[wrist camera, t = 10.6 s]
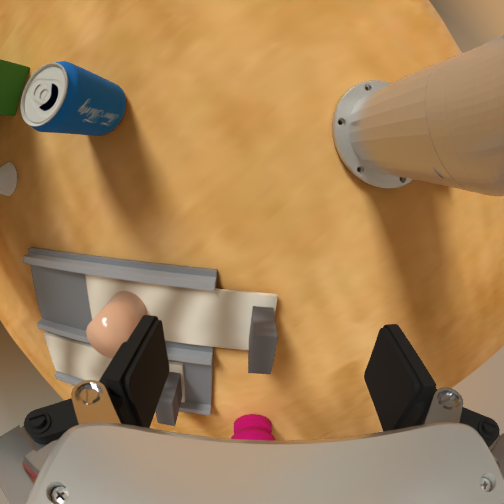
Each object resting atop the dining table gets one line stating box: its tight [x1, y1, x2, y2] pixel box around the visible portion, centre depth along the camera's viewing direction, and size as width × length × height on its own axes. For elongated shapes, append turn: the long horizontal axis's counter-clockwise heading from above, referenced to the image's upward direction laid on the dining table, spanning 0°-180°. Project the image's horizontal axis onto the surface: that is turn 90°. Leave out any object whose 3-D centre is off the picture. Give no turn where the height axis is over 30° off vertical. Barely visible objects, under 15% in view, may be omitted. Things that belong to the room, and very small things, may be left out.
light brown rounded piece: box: [86, 291, 147, 358], centre depth 29 cm, size 5×5×7 cm
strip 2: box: [85, 274, 278, 374], centre depth 30 cm, size 24×8×7 cm, turn 84°
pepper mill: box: [231, 414, 275, 441], centre depth 32 cm, size 7×7×20 cm
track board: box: [23, 247, 217, 415], centre depth 34 cm, size 28×24×2 cm
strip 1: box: [44, 332, 185, 426], centre depth 33 cm, size 24×8×7 cm, turn 84°
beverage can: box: [21, 61, 126, 136], centre depth 21 cm, size 6×6×12 cm
